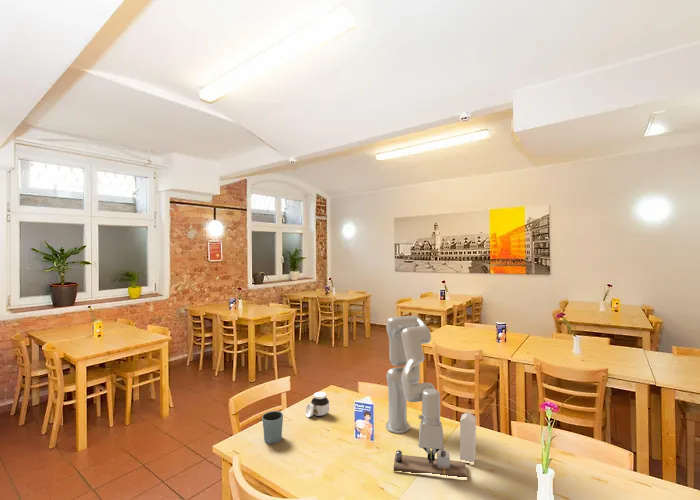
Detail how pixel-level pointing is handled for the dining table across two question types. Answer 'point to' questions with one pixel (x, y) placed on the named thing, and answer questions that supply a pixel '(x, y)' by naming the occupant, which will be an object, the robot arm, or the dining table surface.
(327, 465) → the dining table surface
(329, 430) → the dining table surface
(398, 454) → the fixed leg
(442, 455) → the sliding leg
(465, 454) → the milk
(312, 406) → the spread jar
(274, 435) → the blue-grey cup
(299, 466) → the dining table surface
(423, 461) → the board
